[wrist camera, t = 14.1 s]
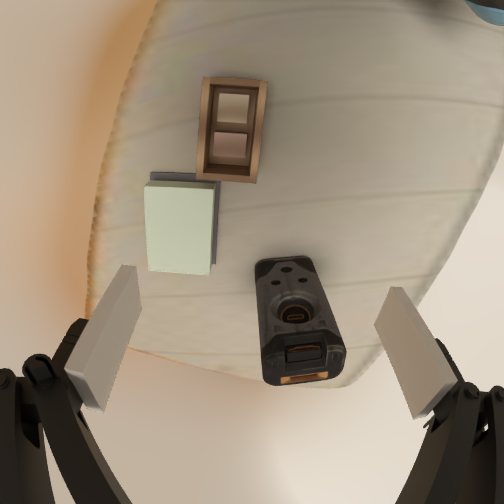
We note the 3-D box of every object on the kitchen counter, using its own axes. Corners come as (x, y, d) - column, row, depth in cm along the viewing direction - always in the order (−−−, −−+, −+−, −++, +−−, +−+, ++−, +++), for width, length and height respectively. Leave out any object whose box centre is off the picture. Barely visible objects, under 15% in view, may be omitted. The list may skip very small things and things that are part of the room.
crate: (209, 81, 34) (203, 76, 27) (263, 85, 34) (267, 81, 28) (203, 167, 39) (195, 179, 33) (253, 170, 40) (256, 183, 33)
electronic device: (312, 254, 46) (349, 345, 28) (311, 285, 49) (342, 379, 31) (253, 259, 46) (260, 356, 29) (256, 290, 49) (263, 389, 31)
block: (153, 177, 39) (144, 186, 35) (216, 180, 40) (213, 189, 36) (156, 255, 45) (148, 270, 41) (212, 259, 46) (209, 275, 42)
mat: (151, 171, 39) (150, 172, 39) (220, 175, 40) (220, 175, 39) (154, 258, 46) (153, 259, 45) (215, 262, 46) (215, 264, 46)
